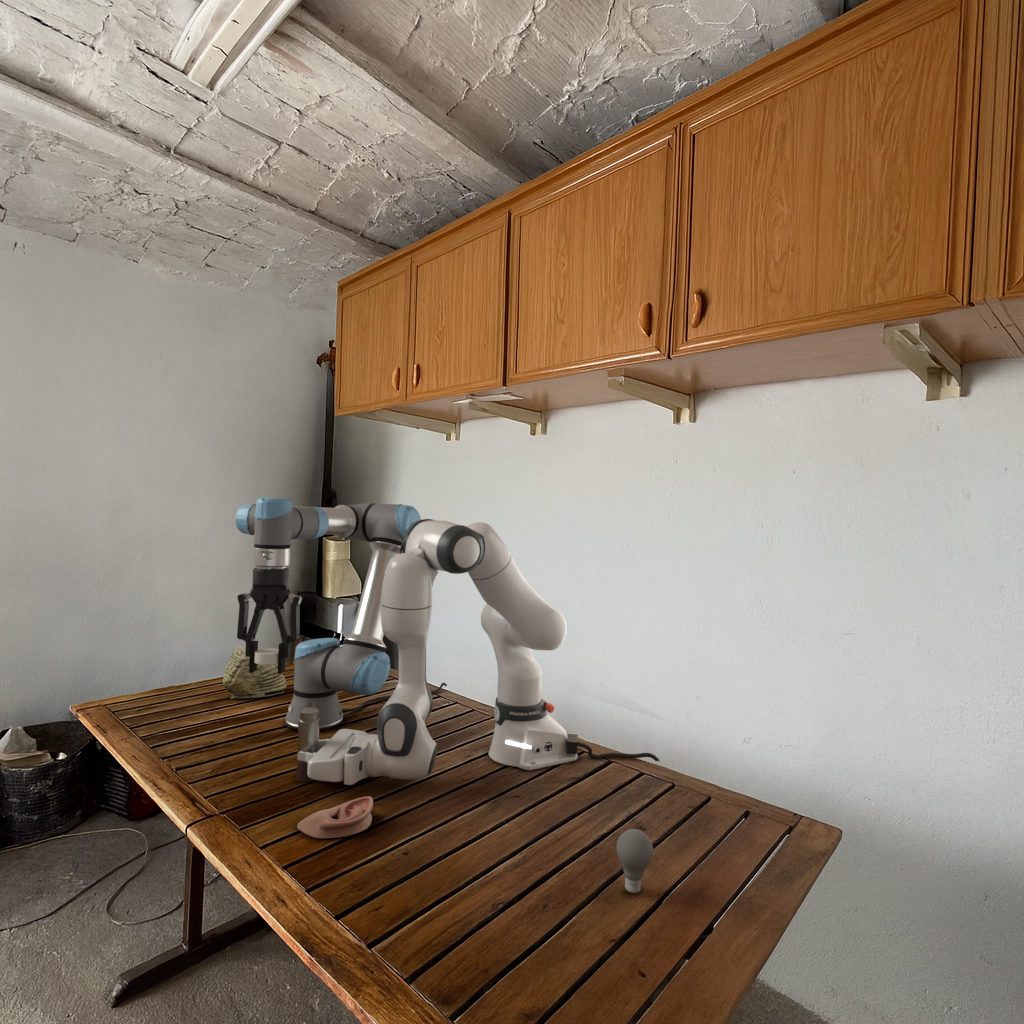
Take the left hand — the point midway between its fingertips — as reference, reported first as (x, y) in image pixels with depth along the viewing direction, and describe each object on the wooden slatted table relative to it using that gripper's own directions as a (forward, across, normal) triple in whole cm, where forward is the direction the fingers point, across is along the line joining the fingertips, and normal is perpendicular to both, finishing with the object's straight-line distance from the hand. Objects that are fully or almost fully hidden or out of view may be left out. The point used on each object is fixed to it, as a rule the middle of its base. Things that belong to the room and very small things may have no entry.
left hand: (267, 671), depth 140 cm
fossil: (+24, -24, +58) cm, 67 cm away
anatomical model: (+24, +20, -18) cm, 37 cm away
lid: (-4, 0, 0) cm, 4 cm away
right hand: (+18, +8, +2) cm, 20 cm away
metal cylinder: (+24, +9, +2) cm, 26 cm away
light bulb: (+24, +74, -37) cm, 86 cm away
